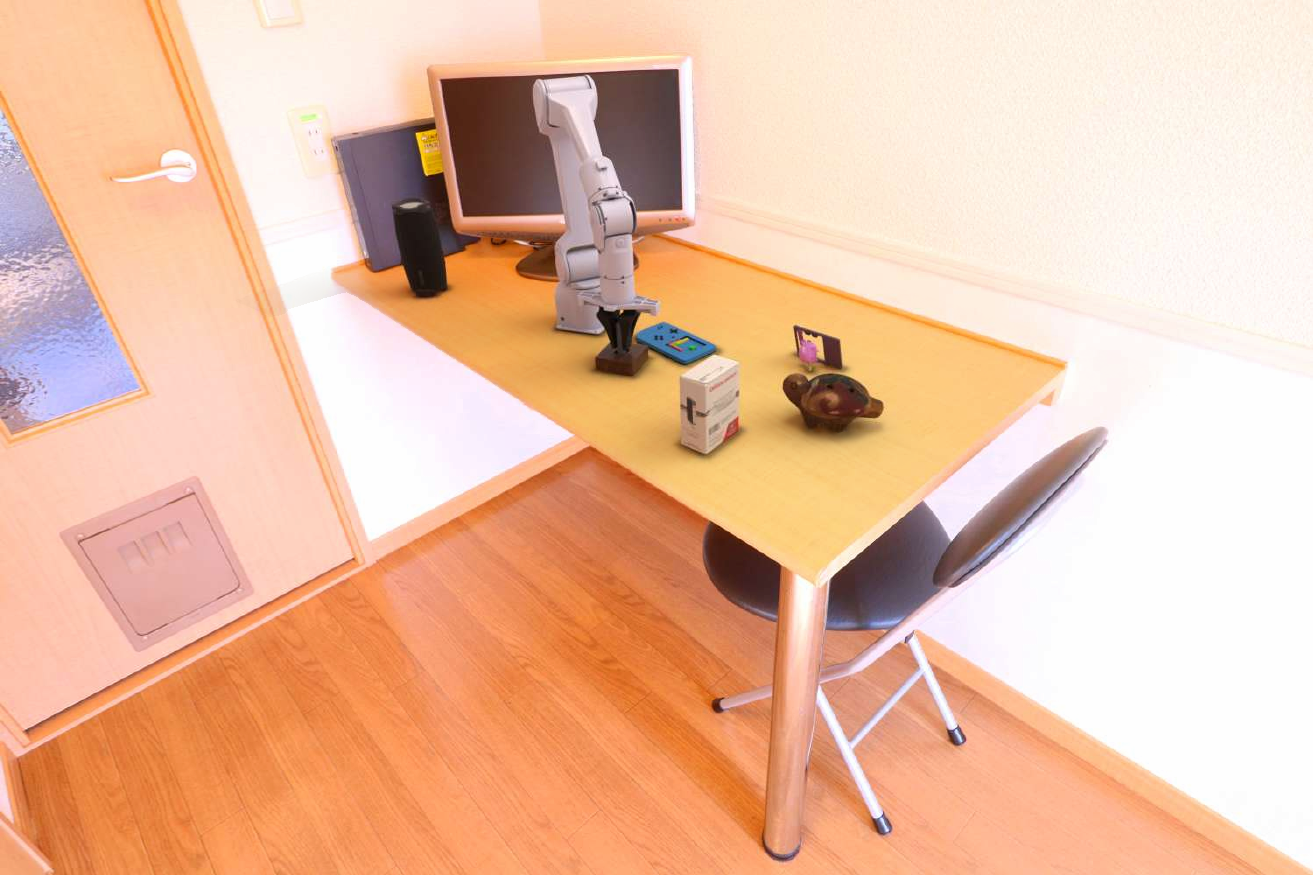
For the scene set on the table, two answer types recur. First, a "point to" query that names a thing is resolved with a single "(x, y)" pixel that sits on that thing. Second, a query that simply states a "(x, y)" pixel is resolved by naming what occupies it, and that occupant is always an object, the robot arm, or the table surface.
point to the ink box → (709, 403)
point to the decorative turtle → (830, 399)
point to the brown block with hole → (622, 359)
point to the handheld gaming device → (675, 342)
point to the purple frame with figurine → (810, 350)
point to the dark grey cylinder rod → (619, 339)
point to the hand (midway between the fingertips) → (621, 347)
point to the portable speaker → (420, 246)
